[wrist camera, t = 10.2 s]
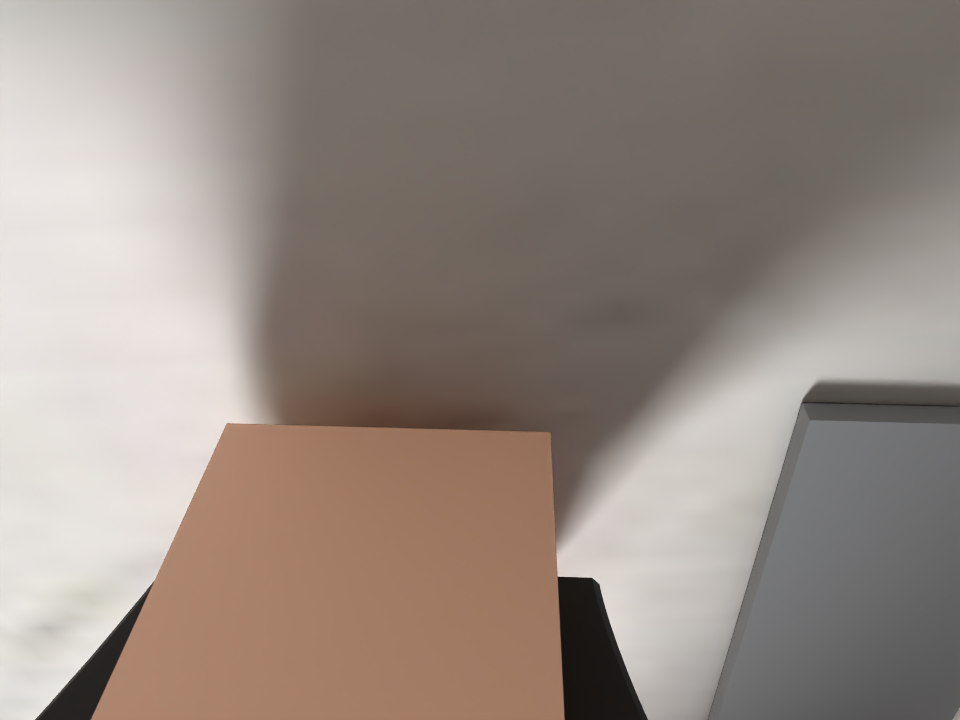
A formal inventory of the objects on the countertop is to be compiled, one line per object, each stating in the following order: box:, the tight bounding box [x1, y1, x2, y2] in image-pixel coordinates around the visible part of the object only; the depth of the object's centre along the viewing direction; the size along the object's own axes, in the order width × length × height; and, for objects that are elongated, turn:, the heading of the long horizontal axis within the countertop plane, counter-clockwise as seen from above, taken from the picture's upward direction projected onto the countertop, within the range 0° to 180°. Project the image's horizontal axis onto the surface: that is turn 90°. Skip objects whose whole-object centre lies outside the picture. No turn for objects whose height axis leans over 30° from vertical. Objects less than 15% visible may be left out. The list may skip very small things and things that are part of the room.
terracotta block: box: [91, 423, 565, 720], centre depth 10 cm, size 4×4×5 cm
